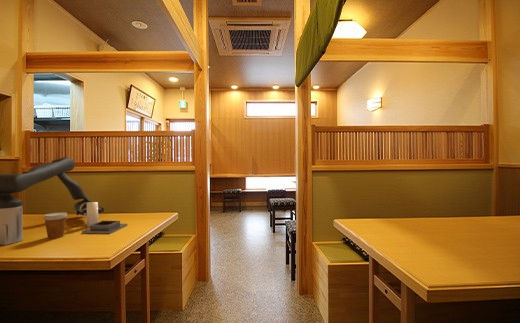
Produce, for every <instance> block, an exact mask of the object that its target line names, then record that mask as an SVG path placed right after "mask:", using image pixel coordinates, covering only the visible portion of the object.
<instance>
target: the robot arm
mask: <svg viewBox="0 0 520 323" xmlns="http://www.w3.org/2000/svg"><path fill="white" fill-rule="evenodd" d="M75 166H76V162H75V160H74V159H72V158H71V157H61V158H56V159H52V160H51V162H46V163H42V164H38V165H35V166H33V167H31V168H29V170H28V172H25V173H5V174H4V173H2V174H0V246H7V245H12V244H15V243H19V242H21V241H23V240H24V238H23V236H24V234H23V232H24V231H23V229H24V228H23V225H24V224H23V222H24V221H23V218H24V217H23V213H24V212H23V208H24V207H23V200H22V199H20V198H17V197H14V196H13V195H12V194H18V193H21V192H23V191H25V190H27V189H29V188H31V187H32V186H34V185H37V184H39V183H42V182H45V181H47V180H49V179H52V178H54V177H58V179H59V180H60V182H61V183H62V184H63V185H64V186H65V188H66V189H67V191H68V193H69V194H70V196H71V198H72V199H73V200H74V201H77V202H76V203H75V204H74V205H73V207H74V210H75V214H76V216H79V215H80V216H87V203H90V202H93V201H92V200H91V199H90V198H89V197H88V196H87V195H86V194H85V193H84V190H83V188H82V187H81V185H80V184H79V183H77V182H76V181H75V180H74V179H71V177H69V176H68V175H67V174H66V173H67V172H71V171H73V170H74V168H75ZM79 200H80V201H79ZM104 212H105V207H103V206H98V214H101V213H104Z"/></svg>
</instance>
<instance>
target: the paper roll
mask: <svg viewBox="0 0 520 323" xmlns="http://www.w3.org/2000/svg"><path fill="white" fill-rule="evenodd" d="M98 208H99V202H98V201H94V202H93V201H92V202H90V203H87V215H86V227H87V228H90V225H93V224H95V223H98V222H99V212H98V211H99V210H98Z"/></svg>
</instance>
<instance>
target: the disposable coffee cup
mask: <svg viewBox="0 0 520 323" xmlns="http://www.w3.org/2000/svg"><path fill="white" fill-rule="evenodd" d="M67 217H68V213H67V212H63V211H61V212H60V211H59V212H51V213H47V214H46V213H45V214H44V217H43V220H44V224H45V225H44V226H45V230H46V235H47V239H48V240H54V239H60V238H62V237H65V236H64V235H65V230H66V222H67Z"/></svg>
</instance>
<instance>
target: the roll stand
mask: <svg viewBox="0 0 520 323" xmlns="http://www.w3.org/2000/svg"><path fill="white" fill-rule="evenodd" d="M127 226H128V223H121V220H101V221H98V223H95V224H93V225H90V227H88V228H87V229H84V230H82V231H81V234H82V233H97V235H98V234H100V235H103V234H104V235H107V234H109V235H111V234H113V233H115V232H117V231H120V230H122V229H124V228H125V227H127Z"/></svg>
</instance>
